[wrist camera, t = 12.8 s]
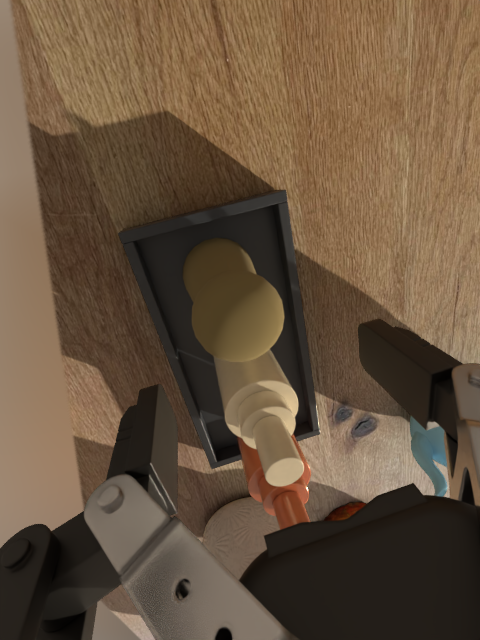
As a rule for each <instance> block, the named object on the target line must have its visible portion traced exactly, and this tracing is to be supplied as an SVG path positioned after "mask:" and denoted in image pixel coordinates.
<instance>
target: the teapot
mask: <svg viewBox="0 0 480 640" xmlns="http://www.w3.org/2000/svg"><path fill="white" fill-rule="evenodd" d="M410 433H411V437H412V440H411V450H412V453H413V456H414V458H415V459H416V461H417V463H418V464H419V465H420V466H421V468H422V469H423V470H424V471H425V472H426V473H427V475H428V476H429V477H430V479H431V480H432V482H433V484H434V488H435V496H441V497H443V496H444V495H445V493H446V491H447V482H446V480H445V477H444V476H443V474H442V473H441V472H440V470H439V469H438V468H437V466H436V465H435V464H434V462H433V460H435V461H436V462H438V463H440V464H442V465H444V466H446V467H447V461H446V453H445V445H444V430H443V429H442V428H441V427H440V426H438V427H436V428H433V429H430V430H427V431H426V430H425V429H424V428H423V427H422V426H421V425H420V424H419V423H418V422H417V421H416V420H415V419H414V418H413V417H412V416H411V417H410ZM432 459H433V460H432Z"/></svg>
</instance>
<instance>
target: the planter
mask: <svg viewBox="0 0 480 640" xmlns="http://www.w3.org/2000/svg"><path fill="white" fill-rule="evenodd" d="M278 530H280V529H279V526H278V522H277V519H276V516H272V515H270V514H268V513H267V512H266V511H265V510H264V508H263V504H262V502H259V501H257V500H255V499H254V498H253V497H248V498H242V499H238V500H235V501H232V502H230V503H228V504H226V505H224V506H223V507H221V508H220V509H219V510H218V511H217V512H216V513H215V514H214V515H213V516H212V517H211V518H210V520H209V522H208V523H207V525H206V528H205V531H204V535H203V542H202V543H203V544H204V545H205V547H206V548H207V549H208V550H209V551H210V552H211V553H212V554H213V555H214V556H215V557H216V558H217V559H218V560H219V561H220V562H221V563H222V564H223V565H224V566H225V567H226V568H227V569H228V570H229V571H230V572H231V573H232V574H233V575H234V576H235V577H236V578H237V579H238V580H239V579H240V578H241V576H242V574H243V573H244V571H245V570H246V569H247V567H248V566H249V565H250V564H251V562H252V561H253V560H254V559H255V558H256V557H258V556H259V555H260V554H261V553H262V552H264V551H265V550H266V549H267V547H266V543H265V539H264V535H267V534H270V533H272V532H275V531H278Z"/></svg>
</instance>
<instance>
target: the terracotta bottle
mask: <svg viewBox="0 0 480 640" xmlns="http://www.w3.org/2000/svg"><path fill="white" fill-rule="evenodd" d="M291 437H292V439H293V442H294V444H295V446H296V448H297V451H298V453H299V455H300V457H301V459H302V462H303V464H304V471H303V474H302V475H301V477H300V478H299V479H298V480H297V481H295V482H294V483H292V484H290V485H287V486H281V487H277V486H273V485H271V484H269V483H268V482H267V481H266V479H265V476H264V472H263V469H262V465H261V462H260V459H259V455H258V452H257V449H254V448H251V447H249V446H248V445H247V444H246V443H245V442H244V441H243V439H242V438H240V437H238V436H237V435H236V438H237V443H238V447H239V451H240V456H241V460H242V465H243V469H244V473H245V478H246V482H247V487H248V491H249V493H250V495H251V496H252V497H253V498H254V499H255V500H257V501H259V502H262V504H263V508H264V510H265V511H266V512H267V513H268V514H270V515H272V516H276V519H277V522H278V526H279V529H280V530H281V529H284V528H287V527H290V526H292V525H295V524H298V523H301V522H311V521H310V519H309V516H308V514H307V511H306V509H305V506H304V505H305V504H306V503H307V501H308V498H309V491H308V488H307V485H308V483H309V480H310V477H311V471H310V467H309V465H308V463H307V461H306V459H305V457H304V454H303V452H302V450H301V448H300V446H299V444H298V442H297V439H296V437H295V435H294V433H293V434H292V435H291Z"/></svg>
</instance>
